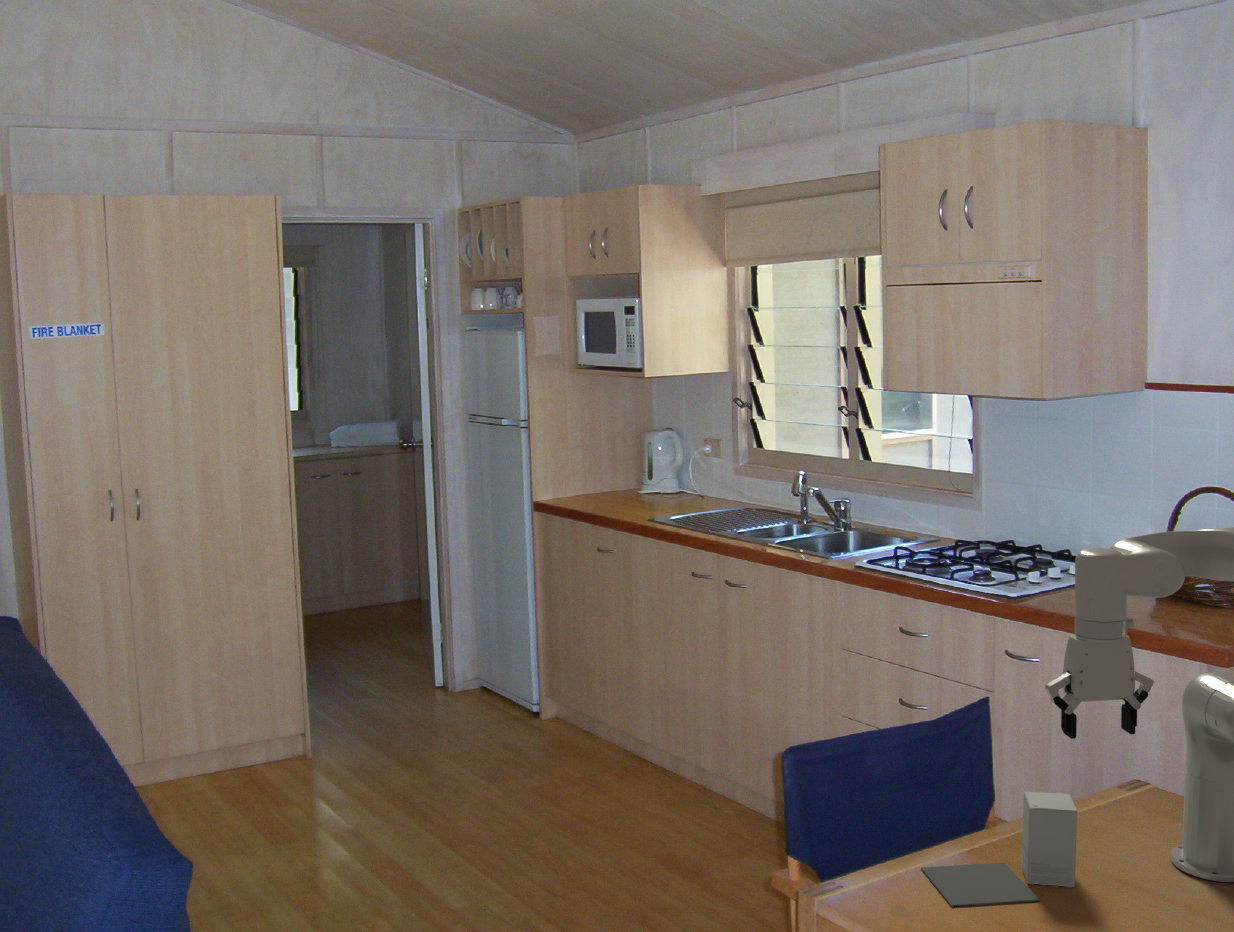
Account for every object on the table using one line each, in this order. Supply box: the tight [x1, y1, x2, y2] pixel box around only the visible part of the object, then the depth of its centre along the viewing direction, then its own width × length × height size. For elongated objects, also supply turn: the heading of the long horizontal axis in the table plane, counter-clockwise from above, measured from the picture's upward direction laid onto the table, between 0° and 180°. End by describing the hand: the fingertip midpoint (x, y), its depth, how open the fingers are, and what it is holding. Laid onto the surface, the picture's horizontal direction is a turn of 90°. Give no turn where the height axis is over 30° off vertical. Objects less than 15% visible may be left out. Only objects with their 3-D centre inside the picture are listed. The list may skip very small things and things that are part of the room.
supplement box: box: [1020, 791, 1078, 888], centre depth 196 cm, size 7×7×13 cm
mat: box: [920, 862, 1041, 908], centre depth 194 cm, size 14×13×1 cm
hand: (1098, 733), depth 194 cm, fingers open, 9 cm apart
